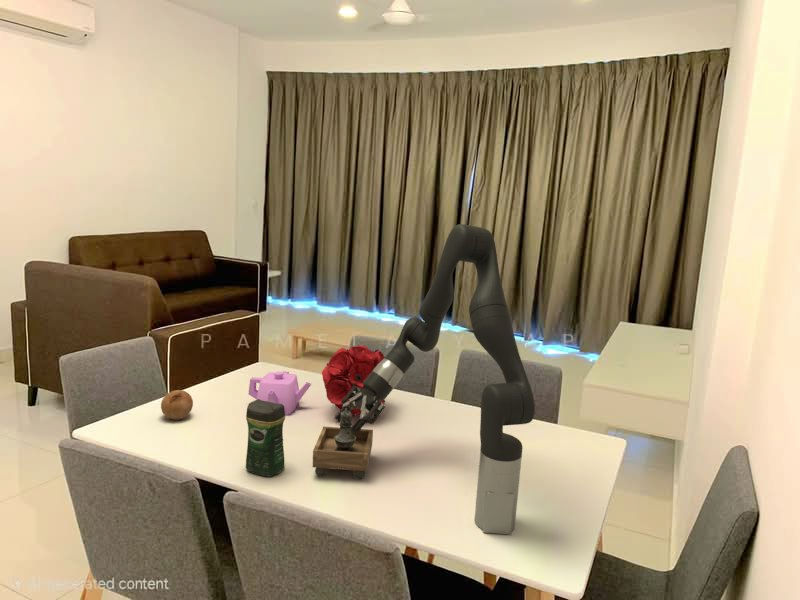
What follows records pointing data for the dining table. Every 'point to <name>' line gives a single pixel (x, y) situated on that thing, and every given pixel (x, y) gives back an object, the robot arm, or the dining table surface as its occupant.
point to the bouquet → (349, 373)
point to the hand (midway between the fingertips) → (344, 426)
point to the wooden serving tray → (342, 452)
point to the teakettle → (278, 389)
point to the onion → (177, 405)
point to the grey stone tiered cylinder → (345, 433)
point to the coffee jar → (265, 437)
